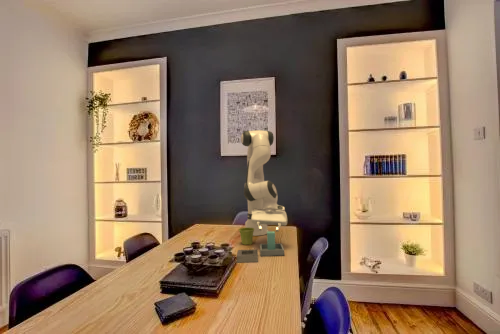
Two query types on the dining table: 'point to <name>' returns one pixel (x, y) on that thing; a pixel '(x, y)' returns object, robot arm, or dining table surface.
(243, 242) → the plant pot
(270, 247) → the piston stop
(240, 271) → the dining table surface
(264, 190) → the robot arm
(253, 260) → the grey flat square block
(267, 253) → the parts tray
